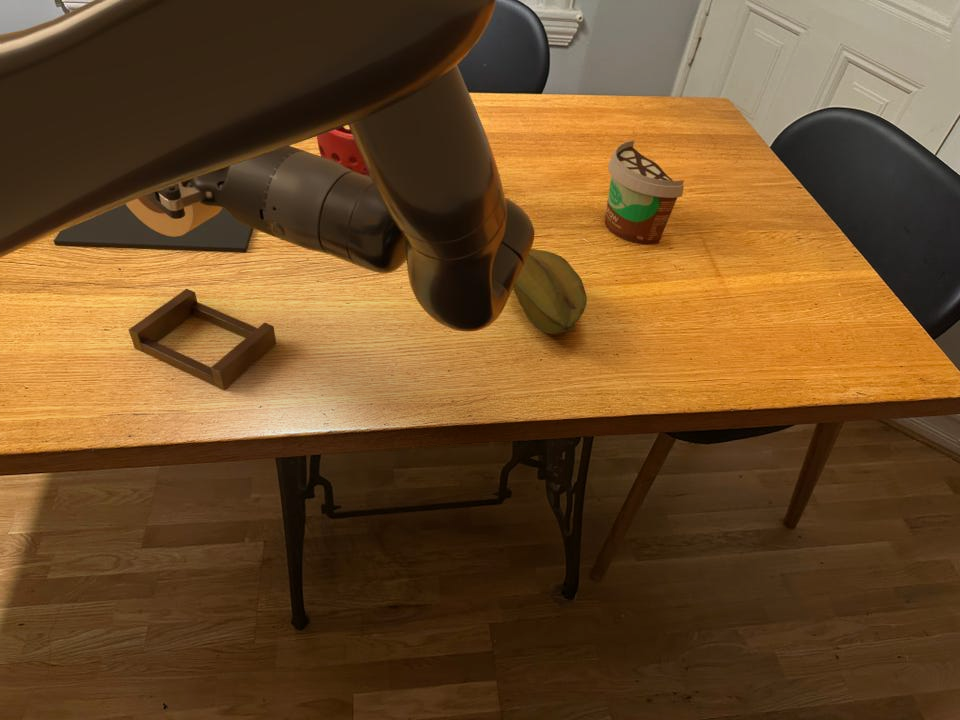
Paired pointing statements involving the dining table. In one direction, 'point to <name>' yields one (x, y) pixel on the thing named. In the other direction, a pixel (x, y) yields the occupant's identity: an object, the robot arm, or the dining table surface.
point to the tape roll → (166, 224)
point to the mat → (156, 233)
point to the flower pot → (342, 149)
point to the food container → (639, 196)
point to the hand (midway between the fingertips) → (143, 140)
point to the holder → (187, 305)
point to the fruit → (550, 292)
